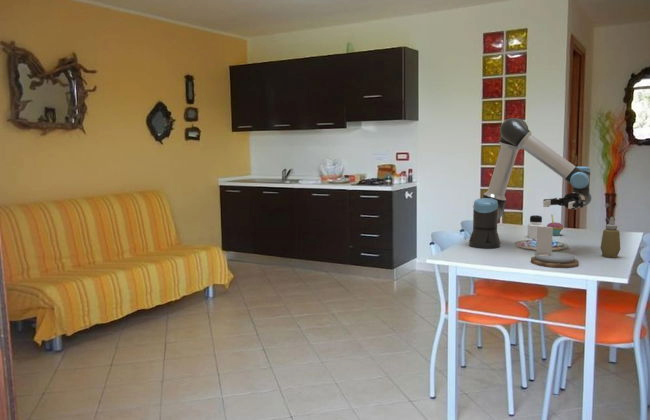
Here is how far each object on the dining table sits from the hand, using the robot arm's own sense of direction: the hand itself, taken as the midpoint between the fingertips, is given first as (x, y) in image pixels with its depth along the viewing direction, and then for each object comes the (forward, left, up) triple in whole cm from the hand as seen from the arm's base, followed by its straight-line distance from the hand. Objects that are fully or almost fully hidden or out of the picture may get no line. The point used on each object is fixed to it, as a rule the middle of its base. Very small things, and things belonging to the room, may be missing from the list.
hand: (556, 204), depth 246 cm
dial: (+4, -10, -22) cm, 25 cm away
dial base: (+4, -10, -24) cm, 26 cm away
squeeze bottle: (+18, +20, -24) cm, 36 cm away
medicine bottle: (-27, +48, -24) cm, 61 cm away
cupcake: (-22, +63, -24) cm, 71 cm away
